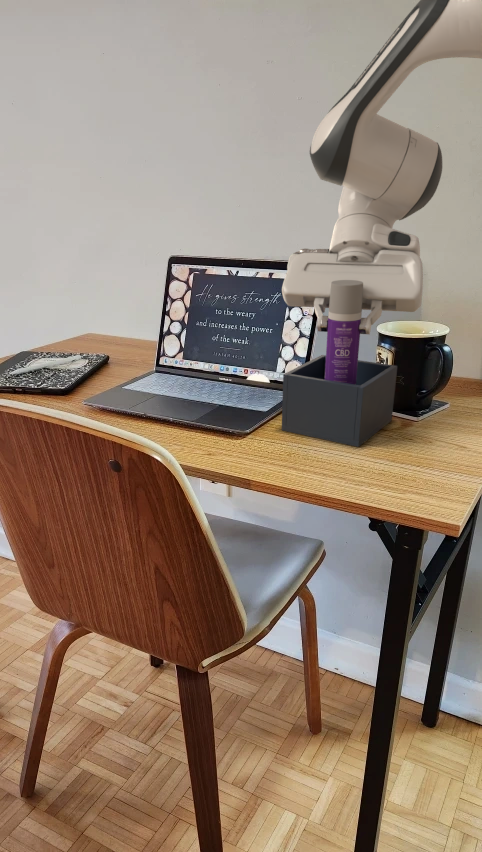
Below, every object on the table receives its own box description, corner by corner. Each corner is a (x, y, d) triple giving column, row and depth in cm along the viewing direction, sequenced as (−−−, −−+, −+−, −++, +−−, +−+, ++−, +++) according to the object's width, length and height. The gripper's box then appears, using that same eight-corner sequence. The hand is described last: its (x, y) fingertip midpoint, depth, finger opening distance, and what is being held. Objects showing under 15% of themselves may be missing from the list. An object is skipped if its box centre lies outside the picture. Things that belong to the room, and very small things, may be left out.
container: (332, 391, 101) (339, 286, 94) (319, 382, 105) (324, 281, 98) (361, 388, 102) (370, 284, 95) (347, 379, 106) (354, 278, 99)
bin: (391, 420, 107) (397, 365, 103) (358, 447, 98) (363, 387, 94) (318, 406, 114) (321, 354, 110) (281, 430, 105) (283, 374, 101)
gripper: (288, 235, 103) (269, 314, 99) (430, 237, 97) (416, 322, 93) (294, 262, 109) (276, 338, 105) (428, 265, 102) (415, 346, 99)
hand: (343, 330), depth 99 cm, fingers closed on container, 4 cm apart
